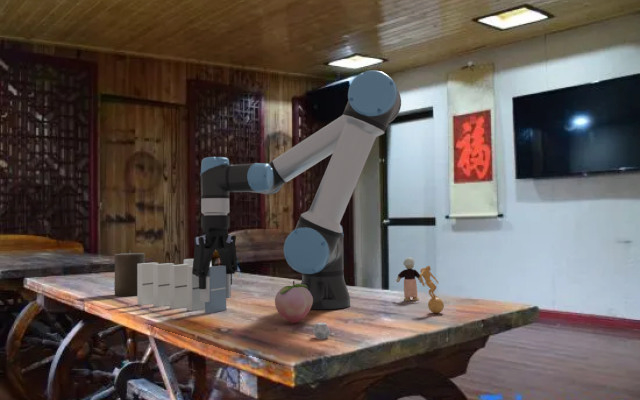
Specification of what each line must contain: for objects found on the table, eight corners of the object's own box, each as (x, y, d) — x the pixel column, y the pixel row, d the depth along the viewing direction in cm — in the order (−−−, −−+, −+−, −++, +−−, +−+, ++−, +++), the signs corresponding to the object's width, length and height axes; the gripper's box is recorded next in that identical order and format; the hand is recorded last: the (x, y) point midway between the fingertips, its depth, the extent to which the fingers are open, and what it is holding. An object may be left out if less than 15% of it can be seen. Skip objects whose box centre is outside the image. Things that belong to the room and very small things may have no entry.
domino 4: (208, 308, 160) (207, 264, 160) (192, 311, 155) (191, 266, 155) (203, 307, 161) (202, 264, 161) (187, 310, 156) (186, 266, 156)
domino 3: (190, 306, 164) (190, 264, 164) (174, 309, 159) (174, 265, 159) (185, 305, 165) (185, 263, 165) (169, 308, 160) (169, 265, 160)
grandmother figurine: (421, 298, 172) (420, 256, 172) (423, 300, 168) (423, 257, 168) (395, 299, 172) (394, 257, 172) (397, 301, 168) (397, 257, 168)
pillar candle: (139, 296, 187) (139, 250, 188) (109, 296, 187) (110, 250, 188) (148, 292, 197) (148, 249, 197) (120, 293, 197) (120, 249, 197)
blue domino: (226, 309, 156) (225, 265, 156) (210, 313, 151) (210, 267, 151) (220, 309, 157) (220, 265, 157) (205, 312, 152) (204, 267, 152)
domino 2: (174, 304, 168) (174, 263, 168) (157, 307, 163) (157, 264, 163) (169, 303, 169) (169, 263, 169) (153, 306, 164) (153, 264, 164)
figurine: (436, 316, 141) (435, 267, 142) (414, 314, 145) (413, 266, 145) (450, 311, 148) (449, 265, 148) (428, 309, 152) (427, 264, 152)
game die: (312, 336, 119) (311, 322, 119) (329, 336, 119) (329, 321, 119) (312, 340, 116) (312, 325, 116) (331, 339, 116) (330, 325, 116)
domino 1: (158, 302, 172) (158, 262, 172) (141, 305, 167) (141, 264, 167) (153, 302, 173) (153, 262, 173) (137, 304, 168) (137, 263, 168)
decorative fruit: (289, 319, 140) (289, 278, 141) (318, 321, 136) (317, 279, 137) (267, 325, 132) (266, 281, 133) (296, 328, 128) (296, 283, 128)
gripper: (231, 214, 165) (231, 294, 165) (176, 214, 149) (177, 303, 148) (250, 214, 161) (251, 296, 160) (197, 214, 144) (197, 305, 144)
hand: (216, 299), depth 154 cm, fingers open, 7 cm apart
